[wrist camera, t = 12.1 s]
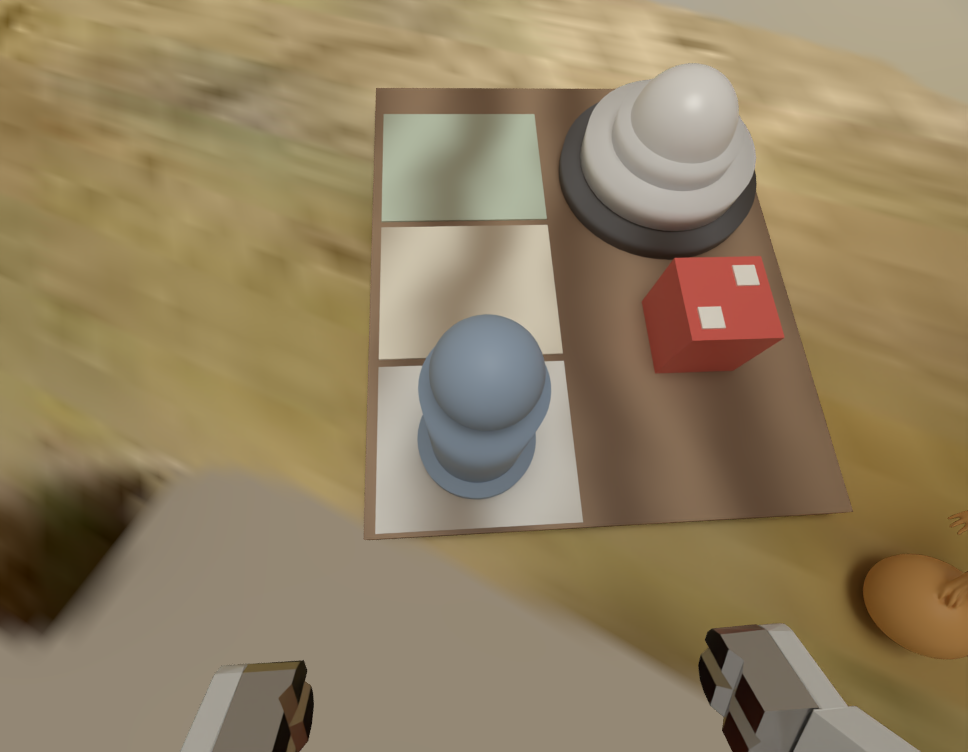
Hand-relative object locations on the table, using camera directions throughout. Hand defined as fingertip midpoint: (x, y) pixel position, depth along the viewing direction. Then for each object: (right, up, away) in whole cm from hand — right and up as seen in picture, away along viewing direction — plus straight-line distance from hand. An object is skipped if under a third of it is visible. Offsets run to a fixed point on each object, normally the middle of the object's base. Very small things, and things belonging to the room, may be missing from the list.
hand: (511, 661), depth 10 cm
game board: (+4, +11, +17) cm, 21 cm away
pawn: (-1, +3, +12) cm, 12 cm away
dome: (+9, +18, +17) cm, 26 cm away
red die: (+10, +8, +15) cm, 19 cm away
